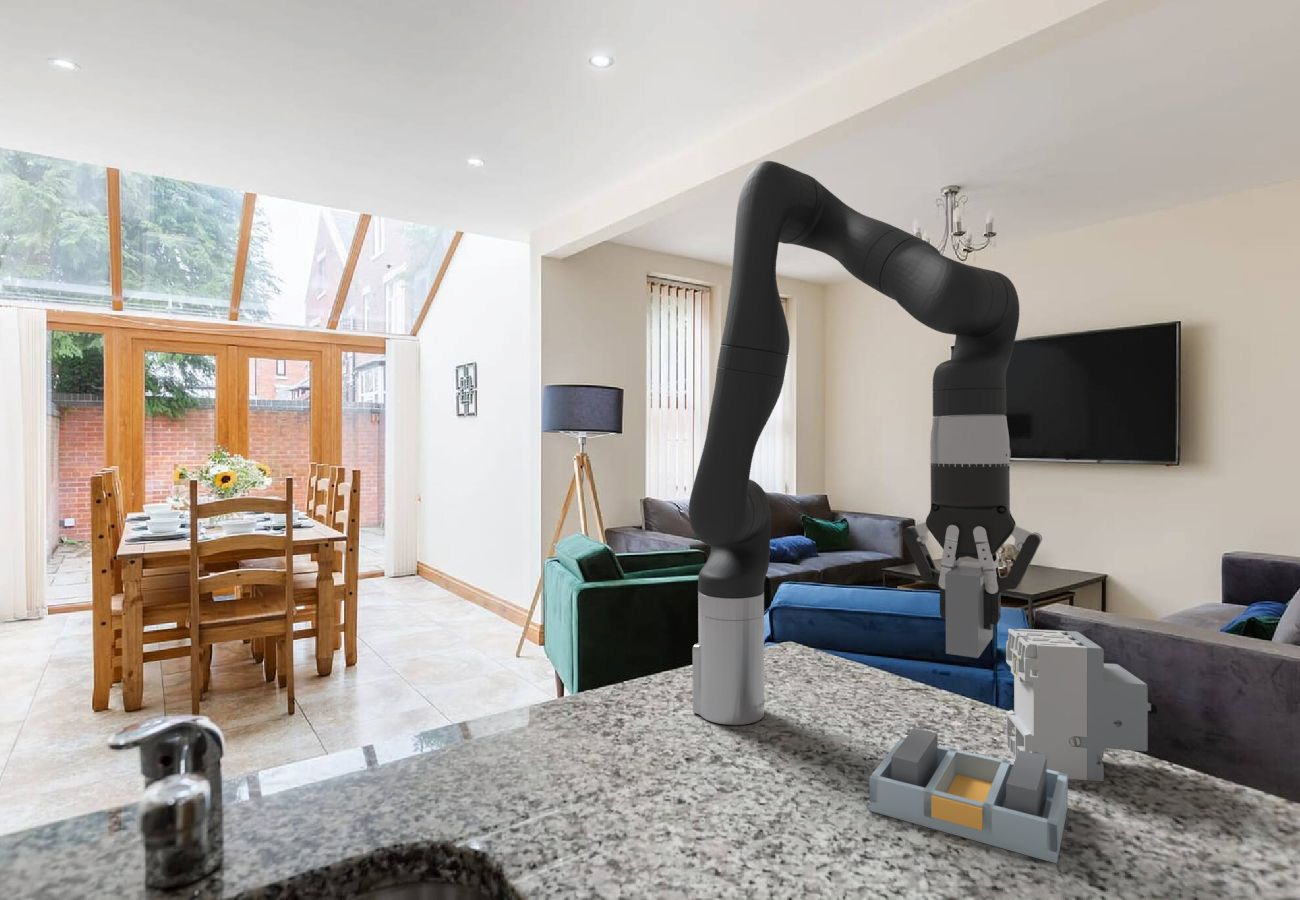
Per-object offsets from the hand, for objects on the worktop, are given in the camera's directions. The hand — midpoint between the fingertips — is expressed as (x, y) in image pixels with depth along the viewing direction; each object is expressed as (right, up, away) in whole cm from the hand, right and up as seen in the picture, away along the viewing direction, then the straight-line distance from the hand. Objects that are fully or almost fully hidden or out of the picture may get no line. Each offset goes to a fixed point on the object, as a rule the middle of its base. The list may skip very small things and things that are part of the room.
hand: (970, 625), depth 75 cm
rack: (0, -19, 0) cm, 19 cm away
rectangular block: (0, -2, 0) cm, 2 cm away
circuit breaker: (+17, -19, +10) cm, 28 cm away
